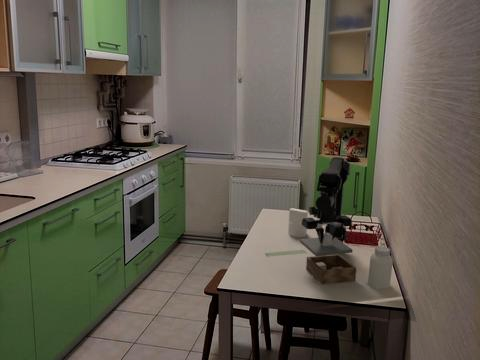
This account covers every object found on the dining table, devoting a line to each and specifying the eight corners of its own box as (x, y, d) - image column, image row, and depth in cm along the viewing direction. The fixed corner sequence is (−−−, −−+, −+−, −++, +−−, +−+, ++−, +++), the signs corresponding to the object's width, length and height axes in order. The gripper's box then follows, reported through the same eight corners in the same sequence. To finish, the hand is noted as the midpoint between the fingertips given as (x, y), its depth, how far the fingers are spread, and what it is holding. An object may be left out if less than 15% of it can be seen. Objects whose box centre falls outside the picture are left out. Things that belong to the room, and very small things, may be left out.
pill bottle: (386, 293, 168) (390, 254, 165) (364, 287, 172) (368, 249, 169) (392, 285, 175) (396, 247, 172) (371, 280, 179) (374, 243, 176)
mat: (303, 250, 208) (303, 249, 208) (321, 266, 191) (321, 265, 191) (265, 253, 203) (265, 252, 203) (279, 270, 186) (279, 269, 186)
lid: (333, 239, 190) (334, 226, 189) (352, 252, 176) (353, 239, 175) (299, 242, 186) (300, 229, 185) (316, 256, 172) (316, 242, 171)
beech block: (340, 273, 182) (341, 266, 182) (345, 278, 178) (346, 270, 178) (331, 274, 181) (331, 267, 180) (336, 279, 177) (336, 271, 177)
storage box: (337, 268, 190) (338, 254, 188) (355, 282, 176) (356, 267, 175) (306, 271, 186) (306, 257, 185) (321, 286, 173) (322, 271, 171)
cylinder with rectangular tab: (309, 233, 231) (310, 209, 229) (301, 238, 224) (303, 214, 221) (293, 229, 236) (294, 206, 233) (285, 234, 229) (286, 210, 226)
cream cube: (321, 270, 185) (322, 261, 184) (325, 273, 182) (326, 265, 181) (313, 271, 184) (314, 262, 183) (317, 274, 181) (318, 266, 180)
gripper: (340, 197, 188) (337, 234, 191) (296, 200, 182) (295, 237, 186) (354, 205, 177) (351, 243, 181) (308, 208, 172) (306, 248, 176)
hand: (325, 243), depth 181 cm, fingers closed on lid, 3 cm apart
